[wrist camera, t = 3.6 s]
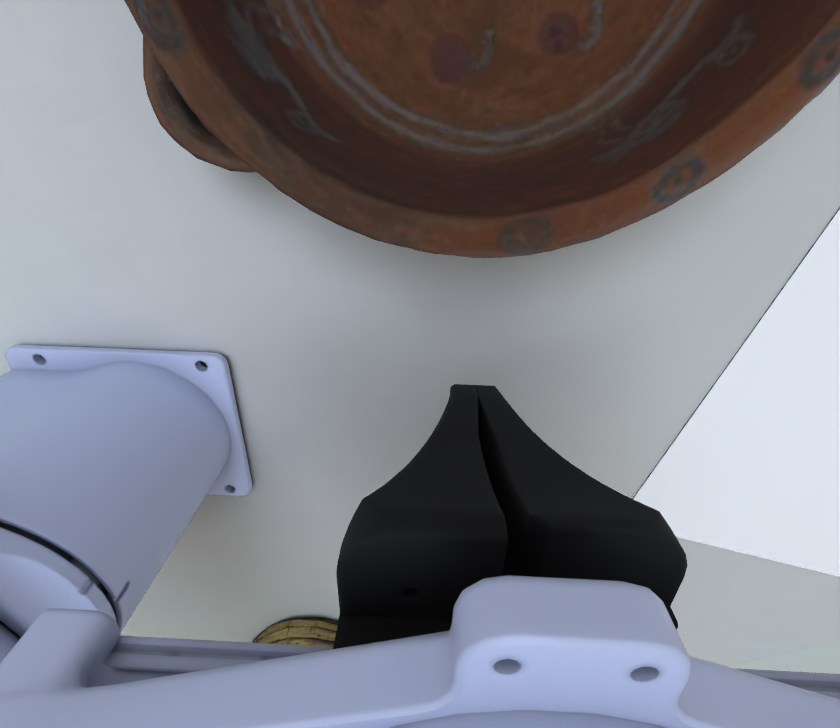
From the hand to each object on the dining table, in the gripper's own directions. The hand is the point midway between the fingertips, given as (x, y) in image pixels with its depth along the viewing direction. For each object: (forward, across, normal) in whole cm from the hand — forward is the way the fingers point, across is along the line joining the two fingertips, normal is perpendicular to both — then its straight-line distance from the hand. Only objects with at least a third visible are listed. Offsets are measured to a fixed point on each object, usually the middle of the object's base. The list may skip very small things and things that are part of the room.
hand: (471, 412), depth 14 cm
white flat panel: (+6, -21, +3) cm, 22 cm away
